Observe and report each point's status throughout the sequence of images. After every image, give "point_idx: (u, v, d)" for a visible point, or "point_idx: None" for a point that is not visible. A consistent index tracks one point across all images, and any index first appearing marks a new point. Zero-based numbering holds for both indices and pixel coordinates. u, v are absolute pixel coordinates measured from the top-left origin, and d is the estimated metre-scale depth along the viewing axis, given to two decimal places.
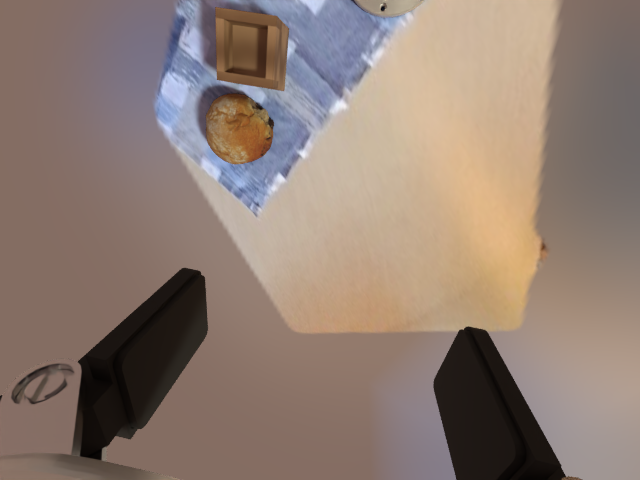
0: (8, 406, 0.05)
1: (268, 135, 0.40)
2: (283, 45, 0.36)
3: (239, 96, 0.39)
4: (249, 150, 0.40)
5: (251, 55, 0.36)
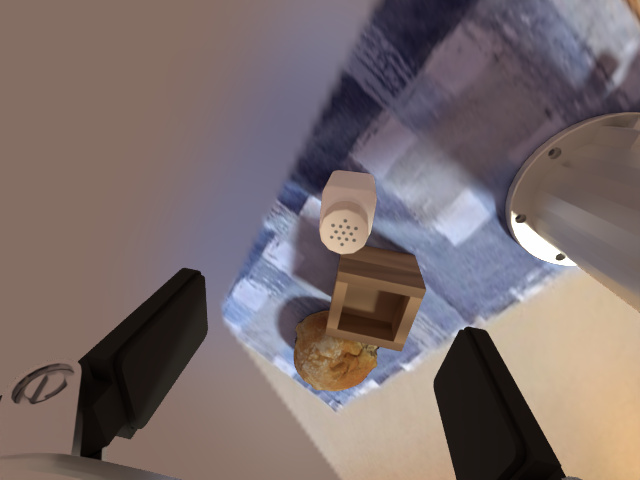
0: (8, 406, 0.05)
1: (375, 365, 0.31)
2: None
3: None
4: (351, 386, 0.31)
5: (368, 298, 0.27)
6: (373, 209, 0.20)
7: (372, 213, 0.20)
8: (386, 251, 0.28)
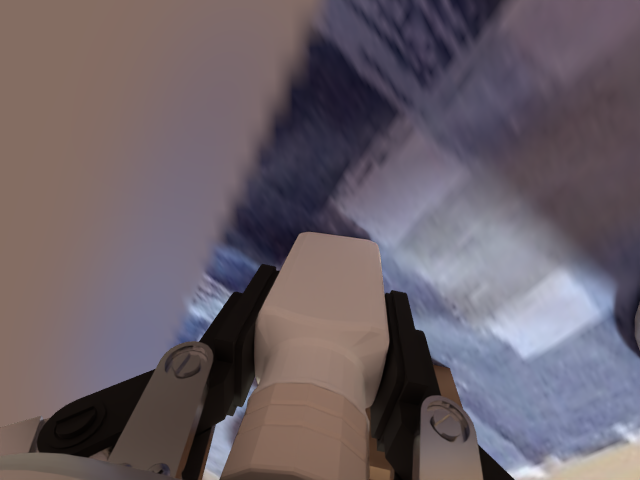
0: (167, 379, 0.06)
1: None
2: None
3: None
4: None
5: None
6: (381, 367, 0.08)
7: (378, 376, 0.08)
8: None
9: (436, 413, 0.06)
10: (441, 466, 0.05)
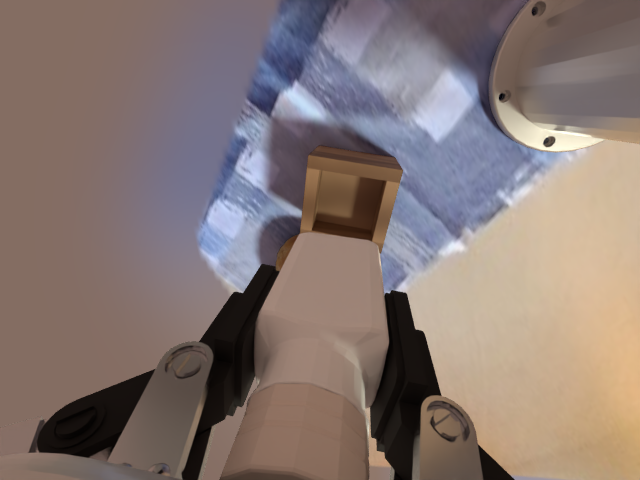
0: (167, 379, 0.06)
1: None
2: None
3: None
4: None
5: (345, 201, 0.25)
6: (380, 368, 0.08)
7: (378, 376, 0.08)
8: (364, 153, 0.26)
9: (436, 413, 0.06)
10: (441, 466, 0.05)
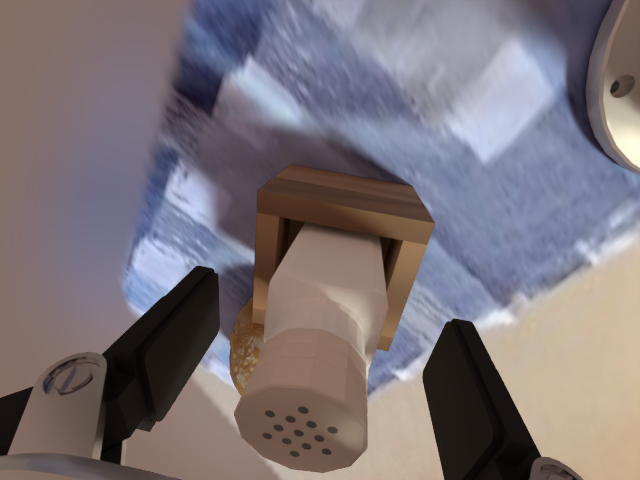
0: (40, 397, 0.05)
1: None
2: None
3: None
4: None
5: None
6: (379, 330, 0.09)
7: (376, 338, 0.09)
8: (362, 178, 0.16)
9: (552, 478, 0.06)
10: None
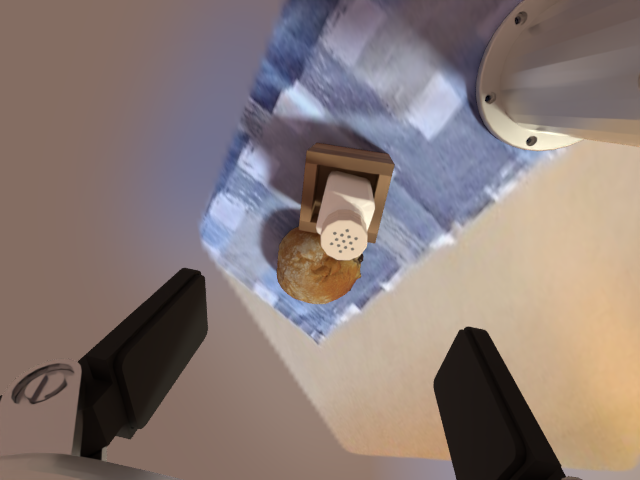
0: (8, 406, 0.05)
1: (359, 276, 0.31)
2: None
3: None
4: (335, 296, 0.31)
5: None
6: (370, 218, 0.21)
7: (369, 221, 0.21)
8: (359, 149, 0.28)
9: None
10: None
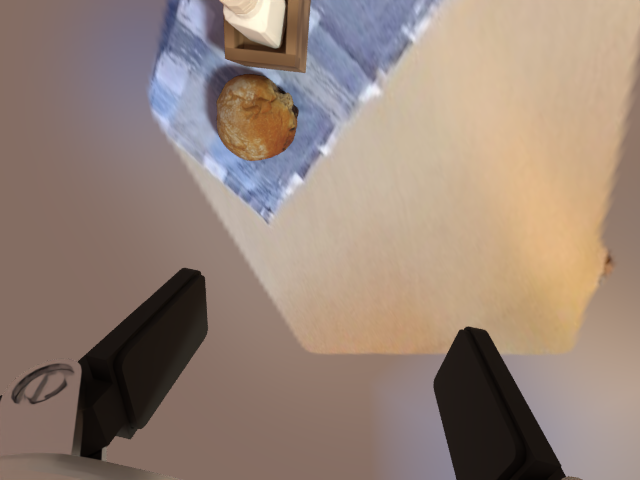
0: (8, 406, 0.05)
1: (292, 125, 0.33)
2: (305, 13, 0.29)
3: (258, 77, 0.32)
4: (269, 143, 0.33)
5: None
6: None
7: None
8: None
9: None
10: None
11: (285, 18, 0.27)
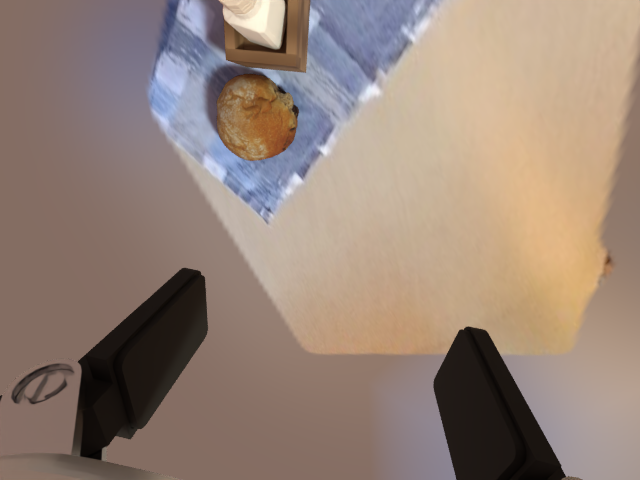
0: (8, 406, 0.05)
1: (292, 125, 0.33)
2: (305, 13, 0.29)
3: (258, 77, 0.32)
4: (269, 143, 0.33)
5: None
6: None
7: None
8: None
9: None
10: None
11: (285, 19, 0.27)
